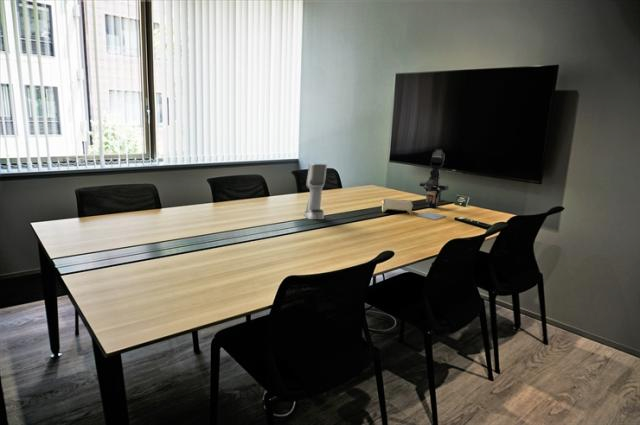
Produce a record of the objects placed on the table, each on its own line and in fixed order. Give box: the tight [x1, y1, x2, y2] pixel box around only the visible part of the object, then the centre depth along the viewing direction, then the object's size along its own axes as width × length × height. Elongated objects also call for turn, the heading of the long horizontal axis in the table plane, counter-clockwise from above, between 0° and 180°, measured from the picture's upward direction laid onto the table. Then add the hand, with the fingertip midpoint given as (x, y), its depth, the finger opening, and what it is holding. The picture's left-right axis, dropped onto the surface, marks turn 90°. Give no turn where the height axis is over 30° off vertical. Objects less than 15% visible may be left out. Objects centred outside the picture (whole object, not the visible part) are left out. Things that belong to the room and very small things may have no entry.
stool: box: [425, 191, 439, 203], centre depth 286 cm, size 6×6×7 cm
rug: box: [415, 211, 446, 221], centre depth 288 cm, size 16×14×1 cm
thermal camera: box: [303, 163, 328, 221], centre depth 265 cm, size 12×13×35 cm
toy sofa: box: [381, 197, 414, 215], centre depth 293 cm, size 21×9×10 cm, turn 86°
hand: (432, 198), depth 286 cm, fingers closed on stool, 6 cm apart
